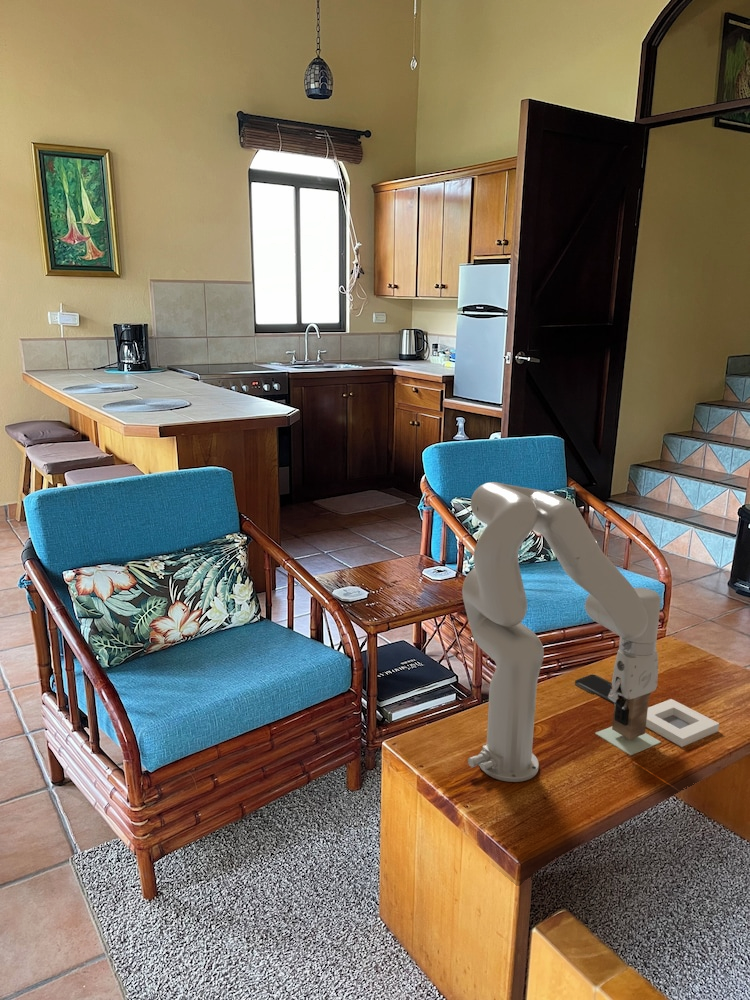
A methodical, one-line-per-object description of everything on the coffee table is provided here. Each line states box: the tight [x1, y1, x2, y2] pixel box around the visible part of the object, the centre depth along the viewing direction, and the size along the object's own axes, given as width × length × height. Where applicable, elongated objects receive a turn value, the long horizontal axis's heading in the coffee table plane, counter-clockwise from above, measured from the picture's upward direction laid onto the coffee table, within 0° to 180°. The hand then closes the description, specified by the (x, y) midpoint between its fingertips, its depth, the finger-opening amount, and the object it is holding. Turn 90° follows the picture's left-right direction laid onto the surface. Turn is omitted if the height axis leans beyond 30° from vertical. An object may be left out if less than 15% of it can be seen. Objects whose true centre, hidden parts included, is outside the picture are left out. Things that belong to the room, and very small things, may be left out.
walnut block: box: [611, 693, 650, 740], centre depth 165 cm, size 5×5×10 cm
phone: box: [574, 674, 614, 705], centre depth 188 cm, size 8×1×15 cm
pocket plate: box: [646, 698, 720, 748], centre depth 172 cm, size 13×13×2 cm
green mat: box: [594, 726, 662, 756], centre depth 166 cm, size 10×10×1 cm
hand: (629, 718), depth 165 cm, fingers closed on walnut block, 5 cm apart
